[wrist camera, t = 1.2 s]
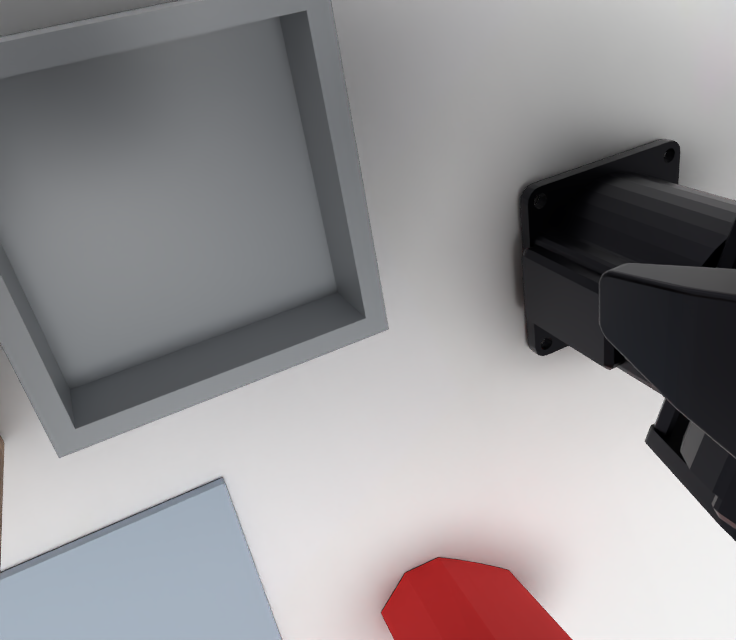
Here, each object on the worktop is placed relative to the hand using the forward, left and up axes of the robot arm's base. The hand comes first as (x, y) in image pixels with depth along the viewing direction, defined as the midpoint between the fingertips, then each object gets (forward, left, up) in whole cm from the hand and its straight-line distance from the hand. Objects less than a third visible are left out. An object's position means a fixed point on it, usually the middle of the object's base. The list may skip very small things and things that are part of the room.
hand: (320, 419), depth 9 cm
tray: (0, 0, -11) cm, 11 cm away
